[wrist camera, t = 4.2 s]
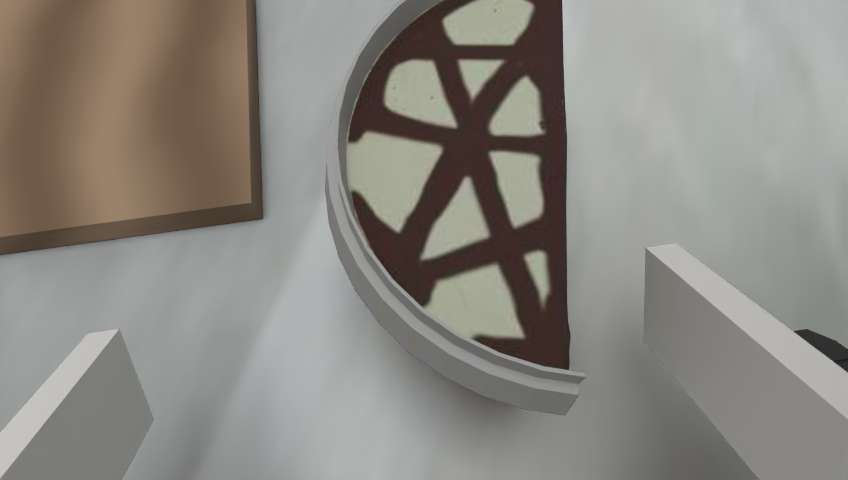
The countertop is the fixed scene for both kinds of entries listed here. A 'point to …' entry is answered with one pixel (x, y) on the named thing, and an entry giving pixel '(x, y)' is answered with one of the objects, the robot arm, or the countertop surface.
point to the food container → (460, 192)
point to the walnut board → (126, 119)
